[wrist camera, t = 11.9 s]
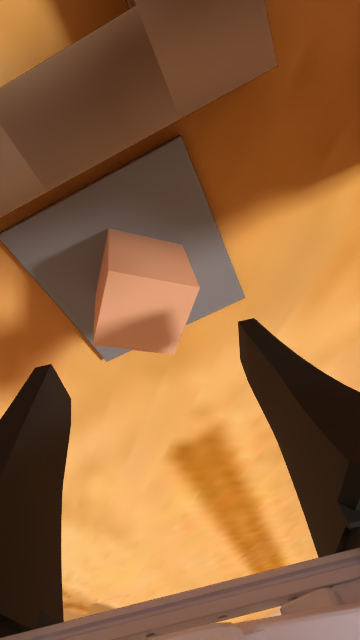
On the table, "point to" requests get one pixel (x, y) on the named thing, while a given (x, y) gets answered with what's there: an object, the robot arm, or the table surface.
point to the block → (143, 294)
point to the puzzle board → (124, 87)
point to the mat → (128, 216)
